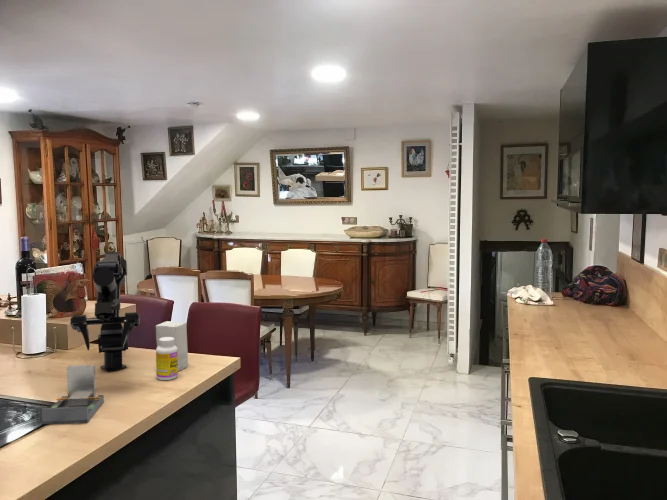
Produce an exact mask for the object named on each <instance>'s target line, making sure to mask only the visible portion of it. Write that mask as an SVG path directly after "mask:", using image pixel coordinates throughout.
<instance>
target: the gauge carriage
mask: <svg viewBox="0 0 667 500" xmlns="http://www.w3.org/2000/svg"><path fill="white" fill-rule="evenodd" d="M96 382H97V381H96V364H85V365H84V364H81V365H67V367H66V384H67V385H66V386H67V389H66V390H67V396H68V398H61V397H59V398H58V397H57V398H55V399H56V402H57V401H58V400H68V406H81V405H88V404H89V403H90V402H91V401H94V400H95V399H101V397H97V390H96V386H97V385H96V384H97V383H96Z"/></svg>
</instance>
